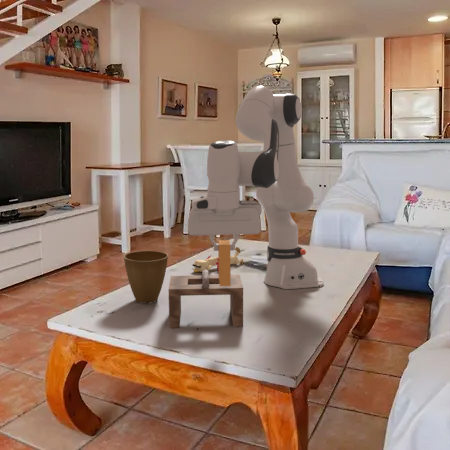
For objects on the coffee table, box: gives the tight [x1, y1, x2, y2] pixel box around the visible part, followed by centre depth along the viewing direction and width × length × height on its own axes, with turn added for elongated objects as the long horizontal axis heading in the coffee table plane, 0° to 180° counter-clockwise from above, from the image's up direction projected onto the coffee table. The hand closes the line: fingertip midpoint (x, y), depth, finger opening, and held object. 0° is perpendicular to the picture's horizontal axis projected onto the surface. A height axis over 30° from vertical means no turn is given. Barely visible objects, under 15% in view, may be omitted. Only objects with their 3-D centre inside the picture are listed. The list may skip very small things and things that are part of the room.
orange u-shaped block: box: [217, 239, 232, 286], centre depth 144 cm, size 7×3×11 cm, turn 3°
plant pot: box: [123, 250, 169, 304], centre depth 177 cm, size 15×15×16 cm
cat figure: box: [191, 246, 245, 273], centre depth 218 cm, size 10×9×25 cm
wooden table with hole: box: [168, 269, 244, 329], centre depth 159 cm, size 22×14×14 cm, turn 93°
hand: (224, 250), depth 143 cm, fingers closed on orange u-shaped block, 3 cm apart
